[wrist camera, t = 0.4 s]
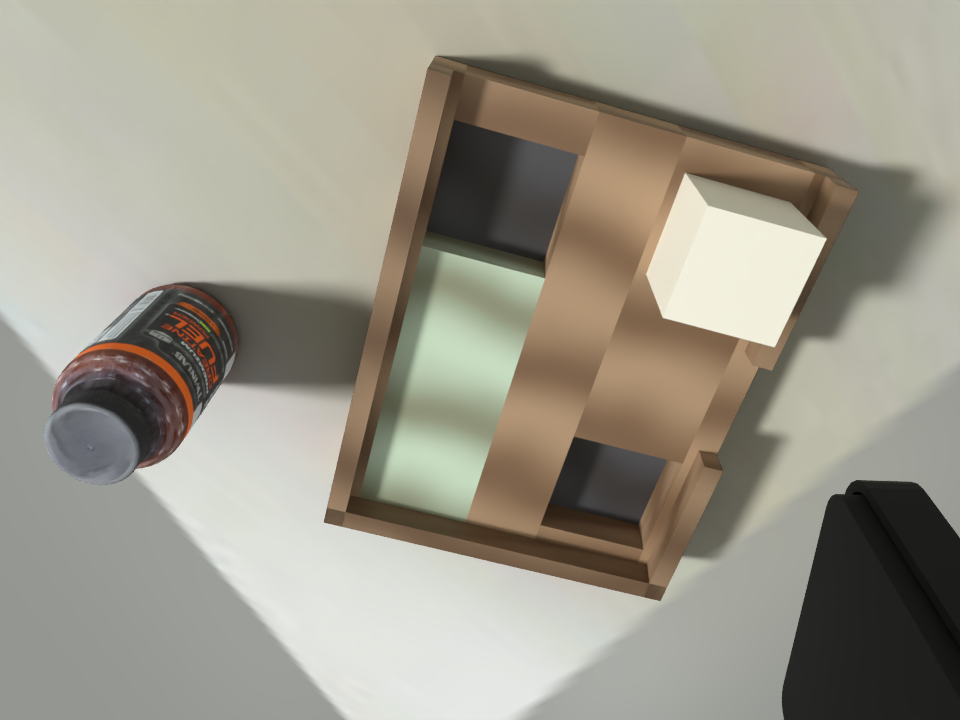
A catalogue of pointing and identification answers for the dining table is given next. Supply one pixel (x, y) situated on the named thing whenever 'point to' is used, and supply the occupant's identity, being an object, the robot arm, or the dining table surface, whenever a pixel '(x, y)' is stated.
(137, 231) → the dining table surface
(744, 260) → the block
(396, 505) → the tray
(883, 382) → the dining table surface
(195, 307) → the supplement bottle
